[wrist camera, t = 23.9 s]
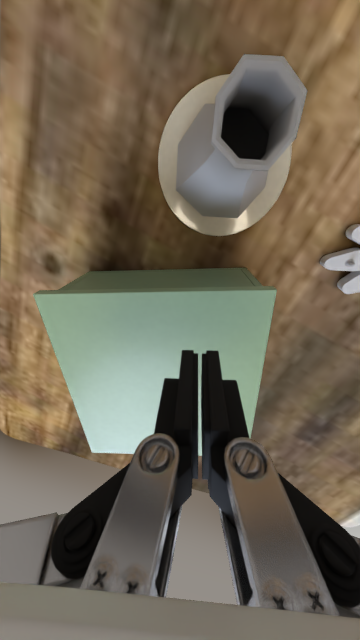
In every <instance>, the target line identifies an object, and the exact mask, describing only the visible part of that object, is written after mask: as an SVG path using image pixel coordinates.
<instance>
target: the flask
mask: <svg viewBox="0 0 360 640" xmlns="http://www.w3.org/2000/svg"><path fill="white" fill-rule="evenodd" d="M306 94H307V89H306V88H305V86H304V85H303V83H302V82H301V81H300V79H299V78H298V76H297V75H296V74H295V72H294V71H293V69H292V68H291V66H290V65H289V64H288V62H287V61H286V59H285V58H284V56H270V55H252V54H244V55H243V56H242V58H241V59H240V61H239V62H238V64H237V65H236V67H235V68H234V70H233V71H232V73H231V74H230V76H229V77H228V79H227V80H226V81H225V83H224V84H223V86H222V87H221V89H220V90H219V92H218V93H217V95H216V97H215V104H205V105H204V106H203V108H202V109H201V111H200V112H199V114H198V115H197V117H196V118H195V120H194V121H193V123H192V124H191V126H190V127H189V129H188V130H187V132H186V133H185V135H184V136H183V138H182V139H181V141H180V142H179V144H178V154H177V176H176V191H177V192H178V193H179V194H181V195H182V196H183V197H184V198H185V199H186V200H187V201H188V202H189V203H190V204H191V205H192V206H193V207H194V208H195V209H196V210H197V211H198V212H199V213H200V214H201V215H202V216H209V217H223V218H238V217H239V216H240V215H241V214H242V213H243V212H244V210H245V209H246V208H247V207H248V206H249V205H250V204H251V203H252V201H253V200H254V199H255V198H256V197H257V196H258V195H259V194H260V192H261V191H262V190H263V189H264V188H265V185H266V180H267V175H268V170H269V169H270V167H271V166H272V165H273V164H274V163H275V162H276V161H277V159H278V158H279V157H280V156H281V155H282V154H283V152H284V151H285V150H286V149H287V148H288V147H289V146H290V144H291V143H292V142H293V141H294V140H295V139H296V136H297V132H298V128H299V123H300V119H301V115H302V111H303V107H304V102H305V98H306Z"/></svg>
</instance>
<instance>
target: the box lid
mask: <svg viewBox="0 0 360 640" xmlns="http://www.w3.org/2000/svg"><path fill="white" fill-rule="evenodd" d="M276 291H277V289H276V288H275V287H274V286H248V287H197V288H145V289H94V290H43V291H38V292H36V293H34V294H33V295H34V298H35V301H36V303H37V306H38V309H39V311H40V314H41V317H42V319H43V322H44V325H45V327H46V330H47V333H48V336H49V338H50V341H51V344H52V346H53V349H54V352H55V354H56V357H57V360H58V362H59V365H60V368H61V370H62V373H63V376H64V378H65V381H66V384H67V386H68V389H69V392H70V394H71V397H72V400H73V403H74V405H75V408H76V411H77V413H78V416H79V419H80V421H81V424H82V427H83V429H84V432H85V435H86V437H87V440H88V443H89V445H90V448H91V451H92V453H127V454H134V453H135V450H136V448H137V447H138V445H139V443H140V442H141V441H142V440H143V439H144V438H146V437H148V436H149V435H152V434H154V430H155V425H156V420H157V414H158V409H159V404H160V399H161V393H162V388H163V383H164V379H165V378H177V379H179V373H180V364H181V354H182V350H194V353H198V455H200V456H202V429H201V371H202V353H204V354H206V351H207V350H212V351H219V358H220V365H221V372H222V379H223V380H236V381H237V384H238V388H239V393H240V397H241V402H242V407H243V411H244V416H245V420H246V425H247V429H248V434H249V438H251V432H252V426H253V421H254V415H255V409H256V404H257V398H258V393H259V387H260V381H261V376H262V370H263V365H264V359H265V353H266V348H267V342H268V336H269V331H270V325H271V320H272V314H273V308H274V303H275V297H276Z"/></svg>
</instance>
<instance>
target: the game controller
mask: <svg viewBox="0 0 360 640" xmlns="http://www.w3.org/2000/svg"><path fill="white" fill-rule="evenodd" d="M346 237H347V238H348V239H350V240H352V241H353V242H355V243H357V244H359V245H360V224H354V225H351V226H350V227H349V228H348V229H347V230H346ZM320 264H321V265H322V266H324V267H325V268H326V269H328V270H337V271H353V272H351V273H350V274H348V275H346V276H345V277H343V278H342V279H340V280H339V281H338V283H337V286H338V288H339V289H340V290H341V291H343V292H344V293H345V294H352V293H358V292H360V248H349V249H346V250H342V251H338V252H335V253H331V254H327V255H325V256H324V257H322V258H321V260H320Z"/></svg>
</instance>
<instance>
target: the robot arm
mask: <svg viewBox="0 0 360 640" xmlns="http://www.w3.org/2000/svg"><path fill="white" fill-rule="evenodd" d="M201 429H202V479H208V489H209V491H210V497H211V498H212V499H213V501H214V502H215V503H216V504H217V505H218V507H219V512H220V517H221V523H222V528H223V533H224V538H225V544H226V549H227V554H228V559H229V565H230V570H231V575H232V581H233V586H234V591H235V596H236V601H237V605H232V604H222V603H213V602H203V601H194V600H184V599H175V598H166V595H167V589H168V584H169V578H170V572H171V566H172V561H173V555H174V550H175V544H176V538H177V533H178V527H179V521H180V516H181V510H182V504H183V503H184V502H185V501H186V500H187V499H188V498H189V497H190V496H191V492H192V478H194V479H198V353H194V350H182V354H181V364H180V373H179V379H177V378H165V379H164V383H163V388H162V393H161V399H160V404H159V409H158V414H157V420H156V425H155V430H154V434H152V435H149V436H148V437H146V438H144V439H143V440H142V441H141V442H140V443H139V445H138V447H137V448H136V450H135V453H134V455H133V458H132V460H131V463H129V464H128V465H127V466H126V467H124V468H123V469H122V470H121V471H119V472H118V473H117V474H116V475H114V476H113V477H112V478H110V479H109V480H108V481H107V482H105V483H104V484H103V485H102V486H100V487H99V488H98V489H97V490H95V491H94V492H93V493H92V494H91V495H89V496H88V497H86V498H85V499H84V500H83V501H81V502H80V503H79V504H78V505H76V506H75V507H74V508H73V509H72V510H71V511H70V512H69V513H66V514H61V515H58V514H57V513H52V514H48V515H43V516H38V517H34V518H29V519H25V520H20V521H15V522H11V523H6V524H1V525H0V640H360V538H357V537H354V536H351V535H350V534H349V533H348V532H347V531H346V530H345V529H344V528H342V527H341V526H340V525H339V524H338V523H337V522H335V521H334V520H333V519H332V518H331V517H329V516H328V515H327V514H326V513H325V512H324V511H322V510H321V509H320V508H319V507H318V506H316V505H315V504H314V503H313V502H312V501H311V500H309V499H308V498H307V497H306V496H305V495H304V494H302V493H301V492H300V491H299V490H298V489H296V488H295V487H294V486H293V485H292V484H291V483H289V482H288V481H287V480H286V479H285V478H283V477H282V476H281V475H280V474H279V473H278V472H277V470H276V468H275V466H274V464H273V461H272V459H271V457H270V455H269V453H268V452H267V450H266V449H265V448H264V447H263V446H262V445H261V444H260V443H258V442H257V441H255V440H253V439H250V438H249V434H248V429H247V425H246V420H245V416H244V411H243V407H242V402H241V397H240V393H239V388H238V384H237V381H236V380H223V379H222V372H221V365H220V358H219V351H212V350H207V351H206V354H204V353H202V371H201Z"/></svg>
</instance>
